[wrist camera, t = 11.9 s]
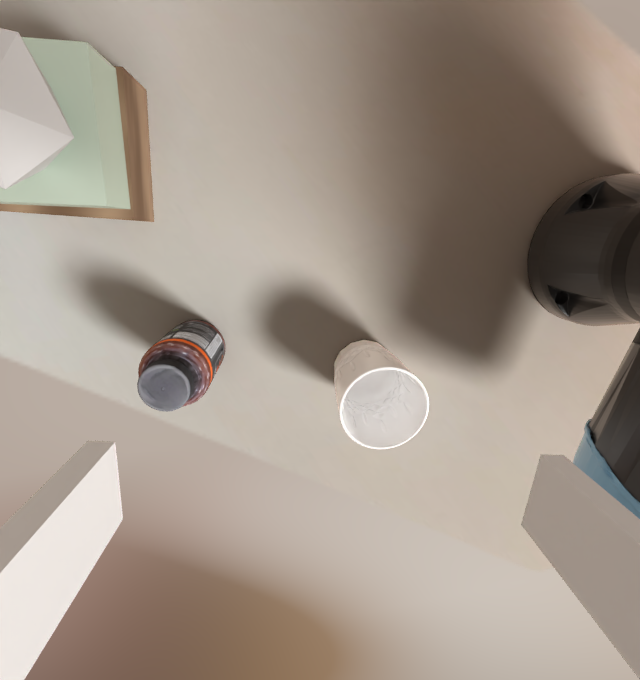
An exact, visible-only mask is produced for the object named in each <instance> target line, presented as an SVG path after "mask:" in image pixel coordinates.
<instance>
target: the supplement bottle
mask: <svg viewBox="0 0 640 680" xmlns="http://www.w3.org/2000/svg"><path fill="white" fill-rule="evenodd" d="M224 354H225V342H224V339H223V337H222V335H221V333H220V332H219V331H218V330H217V329H216V328H215V327H214V326H213V325H211V324H209V323H207V322H204V321H199V320H191V321H187V322H184V323H182V324H180V325H178V326H177V327H175V328H174V329H173V330H171V331H170V332H169V333H168V334H167V335H165V336H164V337H163V338H162V339H161V340H159V341H158V342H157V343H156V344H155V345H153V346H152V347H151V348H150V349H149V350H148V351H147V352H146V353H145V355H144V356H143V358H142V360H141V362H140V364H139V372H138V374H139V380H138V384H137V385H138V386H137V387H138V393H139V395H140V397H141V399H142V400H143V401H144V402H145V403H146V404H147V405H148V406H149V407H151V408H153V409H156V410H159V411H173V410H176V409H178V408H180V407H182V406H187V405H190V404H192V403H194V402H196V401H197V400H199V399H200V398H201V397H202V396H203V395H204V394H205V393H206V391H207V389H208V387H209V385H210V384H211V382H212V380H213V378H214V376H215V374H216V372H217V370H218V368H219V366H220V365H221V363H222V361H223V358H224Z"/></svg>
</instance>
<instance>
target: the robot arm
mask: <svg viewBox="0 0 640 680" xmlns="http://www.w3.org/2000/svg"><path fill="white" fill-rule="evenodd" d="M528 274H529V280H530V284H531V287H532V290H533V292H534V294H535V296H536V298H537V299H538V301H539V302H540V303H541V305H542V306H543V307H544V308H545V309H547V310H548V311H549V312H550V313H552V314H554V315H555V316H557V317H560V318H562V319H565V320H568V321H572V322H575V323H578V324H583V325H591V326H603V325H618V324H634V323H640V174H631V173H626V174H616V175H610V176H604V177H599V178H595V179H591V180H589V181H586V182H584V183H581V184H579V185H578V186H576V187H574V188H572V189H571V190H569V191H568V192H567V193H565V194H564V195H563V196H562V197H560V198H559V199H558V200H557V201H556V202H555V203H554V204H553V205H552V206H551V208H550V209H549V210H548V211H547V213H546V214H545V216H544V217H543V219H542V220H541V222H540V224H539V225H538V227H537V229H536V232H535V234H534V236H533V239H532V242H531V246H530V251H529V257H528ZM584 429H585V434H584V436H583V438H582V441H581V443H580V445H579V447H578V450H577V452H576V454H575V457H574V460H573V463H572V462H571V461H570V460H569V459H567V458H566V457H565V456H564V455H540V459H539V463H538V466H537V470H536V473H535V477H534V481H533V484H532V488H531V491H530V495H529V498H528V502H527V506H526V509H525V513H524V516H523V520H522V524H521V525H522V526H523V528H524V529H525V530H526V532H527V533H528V534H529V535H530V537H531V538H532V539H533V541H534V542H535V543H536V545H537V546H538V547H539V549H540V550H541V551H542V552H543V554H544V555H545V556H546V558H547V559H548V560H549V562H550V563H551V564H552V566H553V567H554V568H555V569H556V571H557V572H558V573H559V575H560V576H561V577H562V578H563V580H564V581H565V583H566V584H567V585H568V586H569V588H570V589H571V590H572V592H573V593H574V594H575V595H576V597H577V598H578V600H579V601H580V602H581V603H582V605H583V606H584V607H585V609H586V610H587V611H588V613H589V614H590V615H591V616H592V618H593V619H594V620H595V622H596V623H597V624H598V626H599V627H600V628H601V629H602V631H603V632H604V633H605V635H606V636H607V637H608V639H609V640H610V641H611V643H612V644H613V645H614V647H615V648H616V649H617V651H618V652H619V653H620V654H621V656H622V657H623V658H624V660H625V661H626V662H627V664H628V665H629V666H630V668H631V669H632V670H633V671H634V673H635V674H636V675H637V677H638V678H639V679H640V329H639V331H638V332H637V334H636V336H635V338H634V340H633V341H632V344H631V346H630V347H629V349H628V351H627V353H626V355H625V357H624V359H623V361H622V363H621V365H620V366H619V368H618V370H617V372H616V374H615V376H614V378H613V380H612V382H611V384H610V385H609V387H608V389H607V391H606V393H605V395H604V397H603V399H602V401H601V403H600V404H599V406H598V408H597V410H596V412H595V414H594V416H593V418H592V419H589V420H588V421H587V423H586V425H585V428H584ZM122 519H123V515H122V504H121V494H120V484H119V474H118V464H117V454H116V444H115V442H104V441H87V442H86V444H85V445H84V446H83V447H81V448H80V449H79V450H78V451H77V453H75V454H74V455H73V456H72V457H71V458H70V459H69V460H68V461H67V462H66V463H65V464H64V465H63V466H62V467H61V468H60V469H59V470H58V471H57V472H56V473H55V474H54V475H53V476H52V477H51V478H50V479H49V480H48V481H47V482H46V483H45V484H44V485H43V486H42V487H41V488H40V489H39V490H38V491H37V492H36V493H35V494H34V495H33V496H32V497H31V498H30V499H29V500H28V501H27V502H26V503H25V504H24V505H23V506H22V507H21V508H20V509H19V510H18V511H17V512H16V513H15V514H14V515H13V516H12V517H11V518H10V519H9V520H8V521H7V522H6V523H5V524H4V525H3V526H2V527H1V528H0V680H24V679H25V678H26V676H27V674H28V673H29V671H30V669H31V668H32V666H33V665H34V663H35V661H36V660H37V658H38V656H39V655H40V653H41V652H42V650H43V648H44V647H45V645H46V643H47V641H48V640H49V639H50V637H51V635H52V634H53V632H54V630H55V629H56V627H57V625H58V624H59V622H60V621H61V619H62V617H63V616H64V614H65V612H66V611H67V609H68V607H69V606H70V604H71V603H72V601H73V599H74V598H75V596H76V595H77V593H78V591H79V590H80V588H81V586H82V584H83V583H84V581H85V580H86V578H87V577H88V575H89V573H90V572H91V570H92V568H93V567H94V565H95V564H96V562H97V560H98V559H99V557H100V555H101V554H102V552H103V551H104V549H105V547H106V545H107V544H108V542H109V541H110V539H111V537H112V536H113V534H114V532H115V531H116V529H117V528H118V526H119V524H120V523H121V521H122Z"/></svg>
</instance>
